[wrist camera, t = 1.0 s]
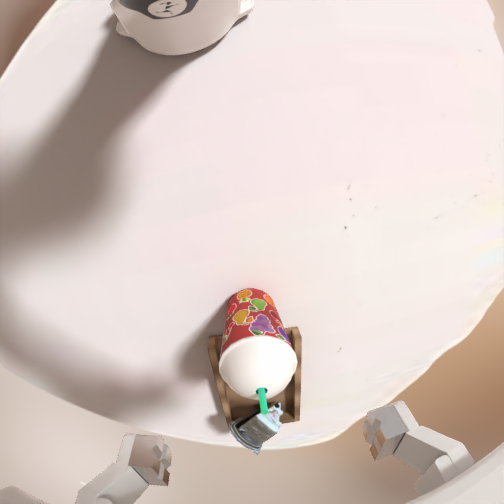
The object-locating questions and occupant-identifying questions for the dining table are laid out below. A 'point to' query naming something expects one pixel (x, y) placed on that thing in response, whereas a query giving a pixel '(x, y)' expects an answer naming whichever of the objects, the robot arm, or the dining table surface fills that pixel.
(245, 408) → the cradle
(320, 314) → the dining table surface
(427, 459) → the robot arm
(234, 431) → the bell
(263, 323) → the smoothie
